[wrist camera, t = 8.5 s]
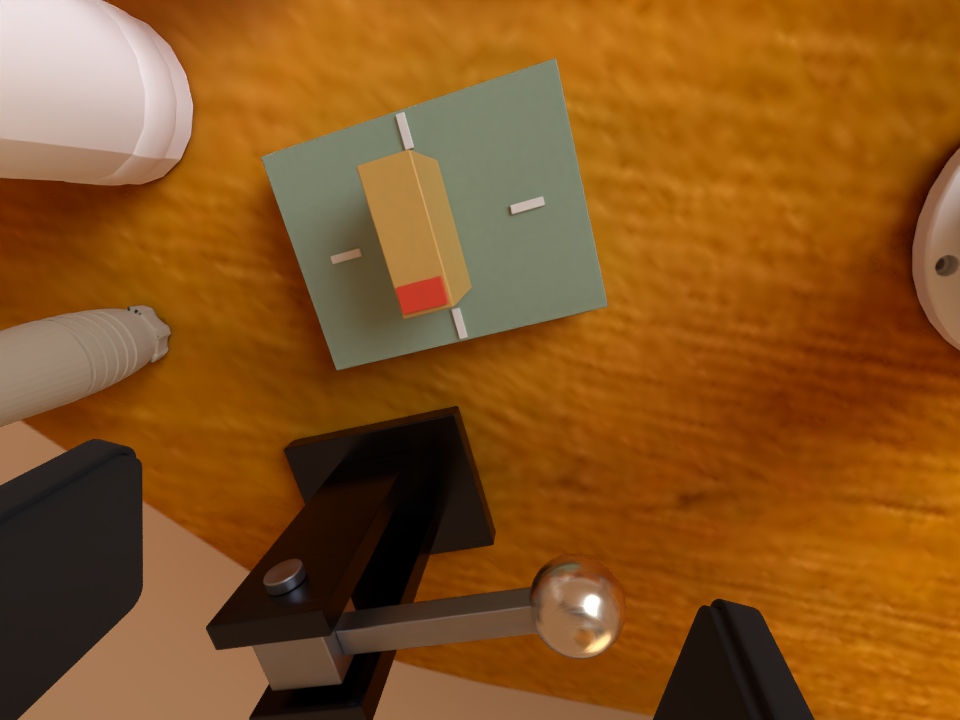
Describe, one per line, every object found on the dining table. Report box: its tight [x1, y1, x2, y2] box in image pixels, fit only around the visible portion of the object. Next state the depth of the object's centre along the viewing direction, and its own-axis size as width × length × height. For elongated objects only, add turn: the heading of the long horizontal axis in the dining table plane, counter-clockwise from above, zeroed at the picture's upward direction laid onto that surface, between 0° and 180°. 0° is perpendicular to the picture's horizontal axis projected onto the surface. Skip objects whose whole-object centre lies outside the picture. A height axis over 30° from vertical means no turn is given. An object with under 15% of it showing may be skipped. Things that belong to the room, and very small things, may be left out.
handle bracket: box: [206, 406, 496, 720], centre depth 24 cm, size 10×8×13 cm
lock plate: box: [261, 59, 608, 370], centre depth 24 cm, size 13×10×3 cm
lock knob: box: [357, 150, 472, 319], centre depth 20 cm, size 6×2×5 cm, turn 15°
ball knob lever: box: [252, 554, 626, 691], centre depth 19 cm, size 13×3×3 cm, turn 105°
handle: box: [0, 306, 171, 427], centre depth 22 cm, size 5×6×15 cm
